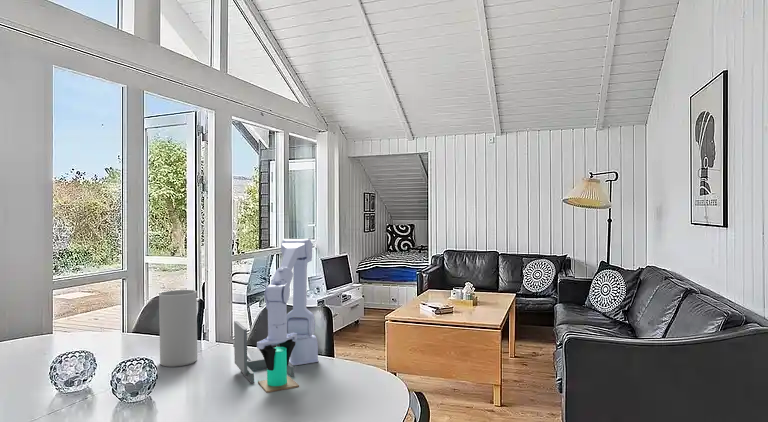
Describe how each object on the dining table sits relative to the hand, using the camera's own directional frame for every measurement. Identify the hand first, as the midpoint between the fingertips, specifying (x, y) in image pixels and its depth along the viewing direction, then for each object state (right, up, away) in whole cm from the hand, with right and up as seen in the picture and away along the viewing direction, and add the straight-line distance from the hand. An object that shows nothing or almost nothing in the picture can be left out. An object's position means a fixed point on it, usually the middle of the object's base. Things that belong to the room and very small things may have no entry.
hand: (277, 367), depth 160 cm
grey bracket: (-7, -6, +12) cm, 15 cm away
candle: (0, -5, 0) cm, 5 cm away
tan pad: (0, -5, 0) cm, 5 cm away
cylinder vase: (-41, -6, +26) cm, 49 cm away
